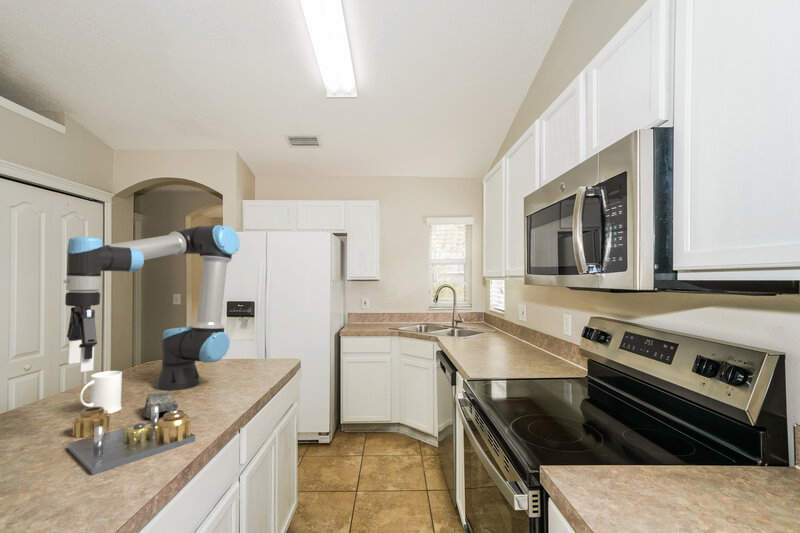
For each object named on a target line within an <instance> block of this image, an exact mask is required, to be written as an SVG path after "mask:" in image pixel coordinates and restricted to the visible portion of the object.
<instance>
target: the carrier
mask: <svg viewBox="0 0 800 533" xmlns="http://www.w3.org/2000/svg"><path fill="white" fill-rule="evenodd" d="M159 415H160V414H159V405H154V406H152V407H151V418H150V420H149V421H146V422H142V423H135V424H132V425H131V426H127V427H125V428H120V429H119V428H118V429H116V430H112V431H109V432H108V431H107V432H105V433H104V426H98V427H95V428H94V436H93V435H92V436H89V437H85V438H82V439H78V440H75V441H72V442H71V441H70V442H68V443H67V450H68V451H69V452H70V453H71V454H72V455H73V456H74V457H75V458H76V459H77V461H78V462H79V463H80V464H81V465H82V466H83V467H84V468H85V469H86V470H87V471H88V472H89V473H90V474H91V475H92V476H93V475H97V474H100V473H103V472H105V471H109V470H111V469H115V468H117V467H121V466H123V465H126V464H130V463H133V462H135V461H139V460H142V459H145V458H148V457H151V456H153V455H156V454H160V453H162V452H167V451H170V450H172V449H174V448H178V447H181V446H184V445H187V444H190V443H193V442H195V441H196V434H193V433H192V430H191V429H192V418H191V417H190V416H189V414H187V413H185V411H184V410H181V409H176V410H172V411H170V412H168V411H166V412H165V413H164V414H163V416H162V417H160V418H159Z"/></svg>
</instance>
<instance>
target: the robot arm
mask: <svg viewBox="0 0 800 533" xmlns="http://www.w3.org/2000/svg"><path fill="white" fill-rule="evenodd" d="M236 232H237V231H236V230H235V229H234V228H232V227H231V226H229V225H220V224H218V225H200V226H199V225H198V226H193V227H189V228H184V229H181V230H174V231H172V232H169V234H166V235H160V236H155V237H146V238H143V239H136V240H134V239H133V240H130V241H129V240H128V241H123V242H117V243H112V244H111V243H110V244H106V245H105V244H103V240H102V239H101V238H100V237H98V238H97V237H91V236H72V237H70V238H69V239H68V244H67V248H66V254H67V255H66V257H67V258H66V279H63V283H64V284H65V286H66V287H65V290H66V291H68V292H66V293H65V298H64V299H65V301H64V303H65V305H66V307H71V308H70V317H69V323H68V328H67V329H68V330H67V334H66V338H67V339H68V352H67V354H68V355H67V365H72V364H79V363H80V364H79V372H80V373H84V372H88V371H94V364H95V363H94V362H95V361H94V360H95V346H96V345H98V338H97V337H98V336H97V329H96V320H95V319H96V311H95V309H92V308H91V307H93V306H98V305H100V303H101V293H100V292H99V291H101V290H102V289H101V286H102V272H125V273H130V272H138V271H140V270H141V269H142V268H143V267H144V264H145V263H144V262H145V261H146V260H151V259H155V258H160V257H165V256H171V255H175V256H182V255H199V258H200V259H201V261H202V262H203V263H202V271H201V279H200V287H199V288H200V289H199V297H198V298H199V299H198V307H197V316H196V322H195V323H194V324H192V325H191V326H182V327H174V328H169V329H165V330H164V331H163V333H162V339H161V342H162V344H161V346H162V347H161V368H160V370H159V374H158V376H157V379H156V381H155V388H156V389H157V390H163V391H174V390H177V391H178V390H183V389H187V388H192V387H195V386H197V385H199V384H200V383H201V382H200V380H201V378H200V374H199V371H198V369H197V365H196V362H202V363H216V362H218V361H220V360H222V359H223V357H225V355H226V354H227V353H228V351H229V348H230V344H231V343H230V342H231V340H230V338H229V335H228V334H227V333H225V326H224V325H223V323H222V315H223V307H224V306H223V305H224V296H225V295H224V294H225V288H226V287H225V285H226V284H225V283H226V276H227V274H226V273H227V266H228V263H230V262H232V259H233V258H232V257H233V255H234V254H237V252H238V250H239V248H240V238H239V236H238V233H236Z"/></svg>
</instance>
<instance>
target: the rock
mask: <svg viewBox="0 0 800 533" xmlns="http://www.w3.org/2000/svg"><path fill="white" fill-rule="evenodd" d="M145 400H146V401H145V404H144V408H143V410H142V417H143V418H146V419H151V407H152V406H154V405H159V413H162V412H170V411H172V410H178V408H179V407H178V406H179V405H178V402H177V400H176V399H174V397H173V396H172V393H171V390H167V391H162V392H161V391H159V392H149V393H148V394H147V396H146V399H145Z"/></svg>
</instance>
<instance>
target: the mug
mask: <svg viewBox="0 0 800 533" xmlns="http://www.w3.org/2000/svg"><path fill="white" fill-rule="evenodd" d="M122 379H123V372H122V371H119V370H106V371H101V372H96V373H93V374H91V375H90V381H89V382H87V383H86V384H85V385H84V386H83V387H82V388H81V391H80V393H79V402H80V403H81V404H82V405H83V406H84V407H86V408H91V407H100V406H102V407H103V408H104V410H107V411H108V413H111V414H115V413H117V412H119V411H121V410H122V409H123V408H122V407H123V406H122V383H123V380H122ZM88 387H89V403H87V402H85V401H84V399H83V396H84V392H85V390H86V389H87V388H88Z"/></svg>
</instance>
